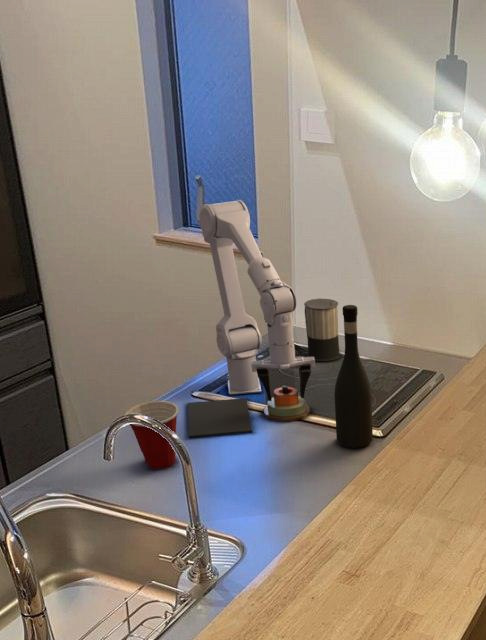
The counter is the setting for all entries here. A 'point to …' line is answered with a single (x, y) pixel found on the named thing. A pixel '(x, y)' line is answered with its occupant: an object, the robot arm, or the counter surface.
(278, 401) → the ring
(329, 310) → the milk frother
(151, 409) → the plastic cup
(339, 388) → the wine bottle
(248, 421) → the mat
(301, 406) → the ring stand
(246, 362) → the robot arm
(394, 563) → the counter surface
